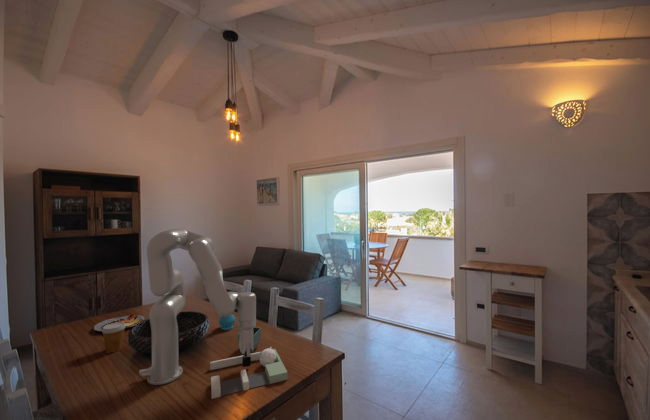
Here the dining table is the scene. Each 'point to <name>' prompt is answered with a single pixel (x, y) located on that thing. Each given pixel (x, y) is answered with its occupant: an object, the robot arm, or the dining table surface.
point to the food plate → (128, 321)
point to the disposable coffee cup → (113, 336)
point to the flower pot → (254, 336)
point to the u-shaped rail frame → (245, 382)
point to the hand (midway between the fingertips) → (246, 365)
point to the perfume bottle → (227, 322)
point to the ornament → (267, 356)
